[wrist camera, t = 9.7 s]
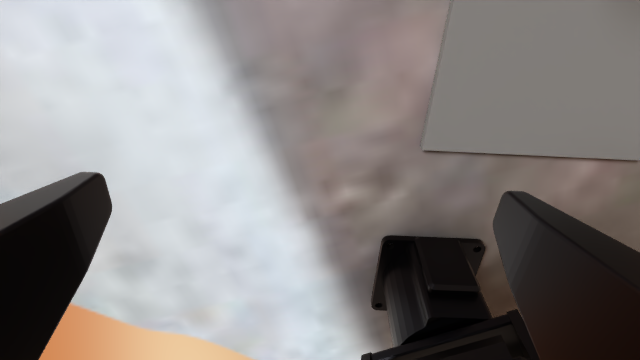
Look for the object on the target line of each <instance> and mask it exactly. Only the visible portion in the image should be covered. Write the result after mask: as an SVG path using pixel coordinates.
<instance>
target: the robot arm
mask: <svg viewBox="0 0 640 360" xmlns="http://www.w3.org/2000/svg"><path fill="white" fill-rule="evenodd" d="M111 212H112V202H111V199H110V195H109V191H108V188H107V184H106V181H105V178H104V176H103V175H102V174H100V173H96V172H80V173H77V174H75V175H72V176H70V177H67V178H65V179H62V180H60V181H57V182H55V183H52V184H50V185H47V186H45V187H42V188H40V189H37V190H35V191H32V192H30V193H27V194H25V195H22V196H20V197H17V198H15V199H12V200H10V201H7V202H5V203H2V204H0V360H39V358H40V356H41V354H42V353H43V350H44V349H45V347H46V345H47V344H48V342H49V340H50V338H51V336H52V335H53V333H54V331H55V329H56V327H57V326H58V324H59V322H60V320H61V318H62V316H63V315H64V313H65V311H66V309H67V307H68V306H69V304H70V302H71V300H72V298H73V297H74V295H75V293H76V291H77V289H78V287H79V286H80V284H81V282H82V280H83V278H84V276H85V274H86V272H87V271H88V268H89V266H90V264H91V262H92V259H93V257H94V254H95V252H96V250H97V247H98V245H99V242H100V240H101V237H102V235H103V232H104V230H105V228H106V225H107V223H108V220H109V218H110V215H111ZM493 230H494V234H495V238H496V241H497V245H498V248H499V252H500V255H501V259H502V262H503V266H504V269H505V273H506V276H507V279H508V282H509V285H510V288H511V291H512V293H513V296H514V298H515V301H516V303H517V306H518V308H519V310H520V313H521V315H522V317H521V315H520V313H519V312H518V310H517V309H516V310H512V311H509V312H507V314H505V315H502V316H499V317H495V318H492V316H491V313H490V311H489V309H488V306H487V304H486V302H485V300H484V297H483V295H482V293H481V291H480V286H479V283H478V281H477V279H476V277H475V276H476V273H477V271H478V268H479V265H480V262H481V260H482V257H483V254H484V251H485V246H484V244H483V242H482V241H481V240H479V239H461V238H437V237H413V236H386V237H384V238H383V239H382V241H381V247H380V252H379V258H378V264H377V270H376V275H375V281H374V287H373V292H372V298H371V304H372V308H373V309H375V310H386V311H387V313H388V319H389V324H390V330H391V336H392V342H393V348H390V349H387V350H383V351H380V352H377V353H373V354H372V353H367V354H364V355H362V357H361V360H640V253H639V252H638V251H636V250H634V249H632V248H630V247H628V246H626V245H624V244H622V243H621V242H619V241H617V240H615V239H613V238H611V237H609V236H607V235H605V234H604V233H602V232H600V231H598V230H596V229H594V228H592V227H590V226H588V225H587V224H585V223H583V222H581V221H579V220H577V219H575V218H573V217H572V216H570V215H568V214H566V213H564V212H562V211H560V210H558V209H556V208H555V207H553V206H551V205H549V204H547V203H545V202H543V201H541V200H539V199H538V198H536V197H534V196H532V195H530V194H528V193H526V192H523V191H506V192H505V193H504V194H503V195H502V197H501V200H500V203H499V206H498V208H497V211H496V214H495V217H494V220H493ZM388 243H392V244H390V245H388ZM477 246H478V247H477ZM475 247H477V248H475ZM522 318H523V319H522Z"/></svg>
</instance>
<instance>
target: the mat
mask: <svg viewBox="0 0 640 360" xmlns="http://www.w3.org/2000/svg"><path fill="white" fill-rule="evenodd" d="M420 147H421V149H422V150H430V151H451V152H472V153H493V154H514V155H535V156H557V157H578V158H599V159H620V160H640V0H450V4H449V9H448V14H447V19H446V24H445V29H444V33H443V38H442V43H441V48H440V53H439V57H438V62H437V67H436V72H435V77H434V81H433V86H432V91H431V96H430V101H429V105H428V110H427V115H426V120H425V125H424V129H423V134H422V139H421V144H420Z"/></svg>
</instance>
